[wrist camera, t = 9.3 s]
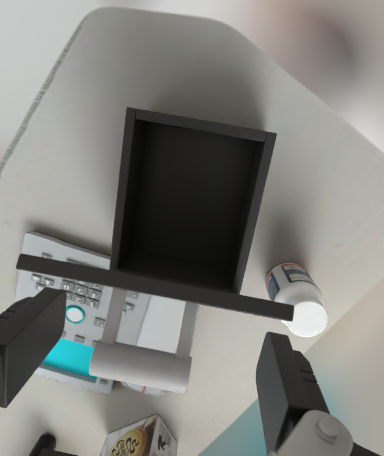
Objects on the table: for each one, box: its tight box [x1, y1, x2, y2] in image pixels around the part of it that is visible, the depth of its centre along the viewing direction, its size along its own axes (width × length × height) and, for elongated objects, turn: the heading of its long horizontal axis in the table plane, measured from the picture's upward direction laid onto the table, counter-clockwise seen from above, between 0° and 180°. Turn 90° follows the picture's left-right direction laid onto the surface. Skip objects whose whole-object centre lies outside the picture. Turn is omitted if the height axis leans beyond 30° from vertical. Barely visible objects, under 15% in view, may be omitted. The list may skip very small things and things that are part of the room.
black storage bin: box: [109, 107, 277, 295], centre depth 34 cm, size 17×14×7 cm
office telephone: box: [15, 231, 200, 397], centre depth 42 cm, size 23×3×20 cm
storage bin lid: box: [16, 253, 294, 394], centre depth 24 cm, size 18×14×5 cm
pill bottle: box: [266, 263, 328, 337], centre depth 35 cm, size 5×5×9 cm
